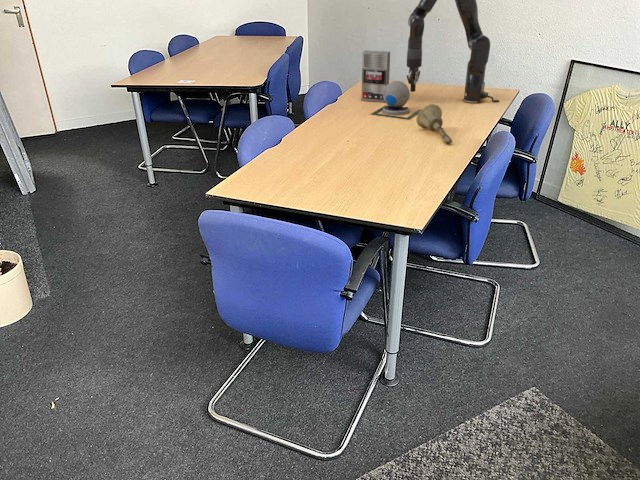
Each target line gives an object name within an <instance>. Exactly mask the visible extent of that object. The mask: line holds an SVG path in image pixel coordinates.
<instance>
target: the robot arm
mask: <svg viewBox="0 0 640 480" xmlns="http://www.w3.org/2000/svg"><path fill="white" fill-rule="evenodd" d="M437 2H438V0H419V2H418V4H417V5H416V7H414V9H413V11H412V12H411V13H410V15H409V17H408V20H407V25H408V27H409V36H408V38H407V51H406V67H407V68H409V70H408V74H407V75H406V79H407V82H408V83H407V84H408V85H410V87H409V92H410V93H415V92H416V89H417V88H416V84H417V83H418V82H419V79H420V75H421V70H420V68H421V67H422V65H423V64H422V63H423V36H424V31H425V18H426V17H427V15H428V14H430V13H431V11H432V10H433V8H434V7H435V5H436V4H437ZM454 2H455V6H456V9H457V12H458V15H459V17H460V20H461V23H462V25H463V29H464V32H465V37H466V42H467V46H468V49H469V51H470V58H469V60H468V62H467V64H466V65H467V66H466V77H465V84H464V92H463V102H464V103H468V104H480V103H482V102H483V101H484V100H486V99H487V98H489V99H491V101H492V102H493V103H499V102H500V100H499V99H496V100H495V99H494V98H493V96H491V95H489V92H486V91H485V86H486V82H485V77H486V68H487V64H488V62H489V57H490V50H491V40H490V38H489V36H486V35H484V32H483V31H482V29H481V28H482V27H481V25H480V22H479V9H478V3H477V0H454Z"/></svg>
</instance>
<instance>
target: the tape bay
mask: <svg viewBox="0 0 640 480" xmlns="http://www.w3.org/2000/svg"><path fill="white" fill-rule="evenodd" d="M385 106H386V105H384V106H383V107H385ZM383 107H382V106H381V108H379V109H377V110H376V111H374V112H372V113H371V115H375V116H380V117H381V116H382V117H387V118H396V119H402V120H411V119H412V118H413V117H415V116H417V115H418V113H419V111H420V110H421V109H418V110H417V111H415V112H414V113H412V114H411V115H408V117H404V116H398V115H389V114H384V113H379V112H381V111H383Z"/></svg>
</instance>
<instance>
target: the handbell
mask: <svg viewBox="0 0 640 480" xmlns="http://www.w3.org/2000/svg"><path fill="white" fill-rule="evenodd" d="M419 110H420V111H419V113H418V114H416V123H417V126H419V127H420V128H422V129H428V130H429V131H431V132H437V133H438V134H439V135H440V137H441V138H442V140H443V142H444V143H445V144H446V145H449V144H452V142H453V139H452V137H450V135H449V134H447V133H446V131H444V128H443V127H442V126H443V124H444V123H443V119H442V116H443V110H442V108H441V107H440V106H439V105H437V104H434V103H432V104H431V103H430V104H428V105H426V106H424V107H423V108H421V109H419Z"/></svg>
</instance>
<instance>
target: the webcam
mask: <svg viewBox="0 0 640 480" xmlns="http://www.w3.org/2000/svg"><path fill="white" fill-rule="evenodd" d="M410 94H411V91H410V88H409V87H408V86H407V84H406V83H405V82H403V81H400V80H394V81H390V82H389V84H388V85H387V86H386V87H385V89H384V92H383V98H384V101H385V102H384V103H385V104H386V105H384V106H385V107H384V106H383V110H382V114H384V115H390V116H403V115H407V114H408V113H409V112H410V109H409V107H408V106H406V104H407V103H408V101H409V100H410V97H411V95H410Z"/></svg>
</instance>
